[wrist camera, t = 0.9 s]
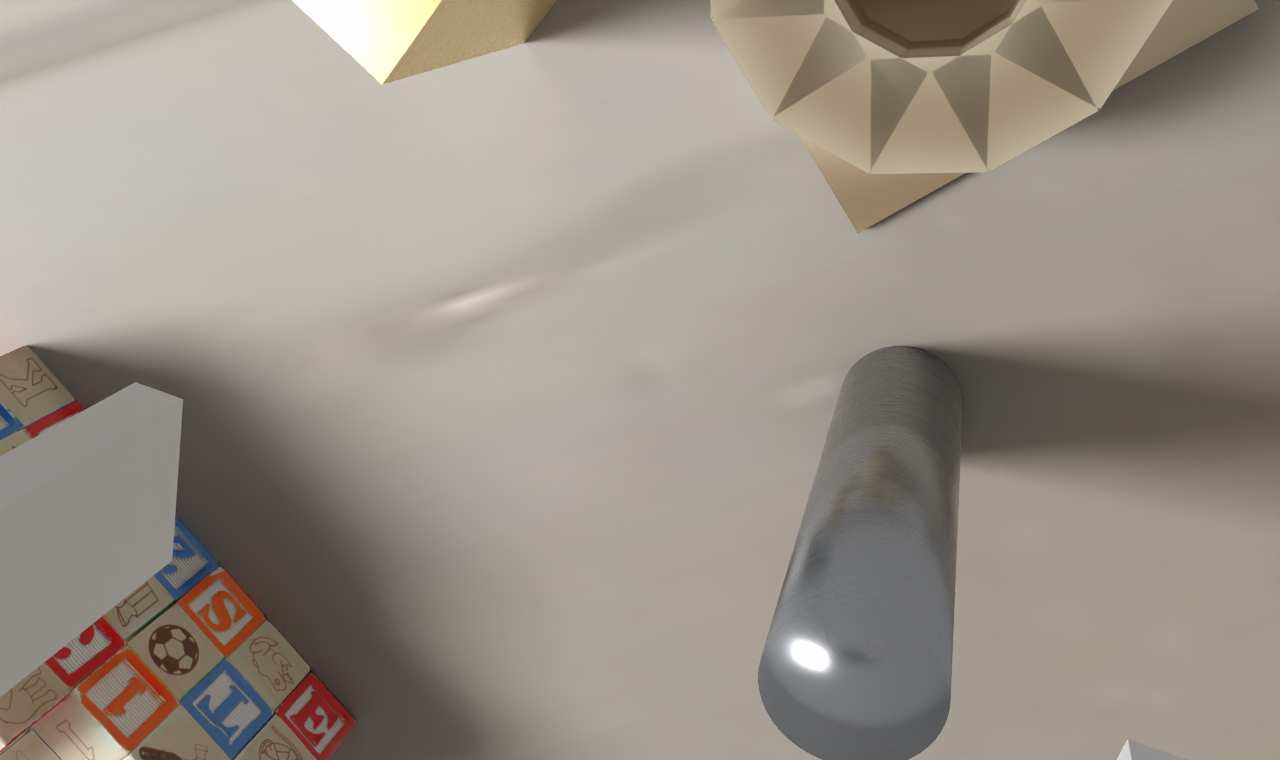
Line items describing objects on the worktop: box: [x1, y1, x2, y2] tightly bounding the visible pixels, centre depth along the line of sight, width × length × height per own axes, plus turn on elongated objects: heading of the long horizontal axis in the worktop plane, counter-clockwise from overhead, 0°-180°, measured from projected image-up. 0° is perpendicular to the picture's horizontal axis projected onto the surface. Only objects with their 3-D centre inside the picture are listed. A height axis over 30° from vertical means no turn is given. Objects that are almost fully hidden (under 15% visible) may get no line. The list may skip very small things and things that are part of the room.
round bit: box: [758, 346, 963, 760], centre depth 32 cm, size 4×4×16 cm
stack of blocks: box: [0, 346, 356, 760], centre depth 45 cm, size 21×6×12 cm, turn 40°
